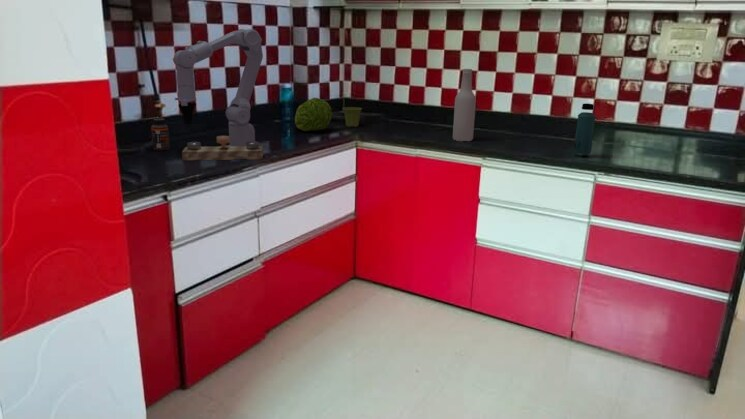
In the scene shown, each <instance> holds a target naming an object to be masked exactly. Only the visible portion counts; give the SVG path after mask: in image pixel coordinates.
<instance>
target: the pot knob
mask: <svg viewBox="0 0 745 419" xmlns="http://www.w3.org/2000/svg"><path fill="white" fill-rule="evenodd" d="M216 143H217V144H220V146H221V148H226V146H227V144H230V137H229V135H217V136H216Z"/></svg>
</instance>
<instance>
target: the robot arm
mask: <svg viewBox="0 0 745 419" xmlns="http://www.w3.org/2000/svg"><path fill="white" fill-rule="evenodd" d="M262 41H263V39H262V37H261V35H260V33H259V32H258V31H257V30H256V29H250V28H249V29H245V28H241V29H240V28H239V29H238V30H233V31H231V32H229V33H226V34H224V35H222V36H220V37H219V38H216V39H214V40H212V41H210V42H208V41H204V40H198V41H196V44H193V45H191V46H186V47H184V50H183V49H182V50H178V51H176V52H175V54H174V55H173V58H172V61H173V63H174V65H175V68H176V70H175V71H176V72H175V73H176V82H177V95H178V96H177V97H175V98H174V100H175V101H178V102H180V103H178V108H179V109H180V111H181V113H182V116H183V121H184V123H185V125H192V124H193V121H194V114H195V113H194V112H195V109H196V106H197V103H195V101H197V97H196V91H195V90H196V89H195V78H194V77H195V75H194V65H195V64H197V63H200V62H202V61H204V60H207V59H208V58H211V57H212V56H213V54H214V52H216V51H217V50H220V49H223V48H225V47H228V46H230V45H237V46H239V48H241V49H242V50H243V52H244V53H245V55H246V60H245V65H244V66H243V67H244V68H243V71H242V74H241V78H240V81H239V85H238V87H237V91H236V95H235V97H234V98H233V99H232V100H231V101H230V104H229V106H227V108H226V110H225V116H226V119H227V120H228V136H229V137H230V143H229V144H228V145H227V144H226V146H246V142H250V141H256V135H255V134H256V130H255V127H254V125H253V124H251V123H249V122H250V121H251V120H250V119H251V108H252V107H251V104H250V100H251V97H252V93H253V90H254V87H255V84H256V80H257V77H258V74H259V71H260V68H261V64H262V61H263V58H264V55H263V49H262V48H263V47H262Z"/></svg>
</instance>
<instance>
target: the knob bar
mask: <svg viewBox="0 0 745 419" xmlns="http://www.w3.org/2000/svg"><path fill="white" fill-rule="evenodd" d="M181 154H182V155H181V156H182V161H222V160H223V161H230V160H231V161H232V160H233V159H247V160H263V159H264V147H263V145H259V148H258V149H247V148H246V146H227V145H226V148H221V145H220V146H219V145H218V146H201V149H198V150H189V149H188V146H185V147H184V148H183V150H182V151H181ZM233 161H234V160H233Z"/></svg>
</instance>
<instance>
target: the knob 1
mask: <svg viewBox="0 0 745 419" xmlns="http://www.w3.org/2000/svg"><path fill="white" fill-rule="evenodd" d="M201 143H202V142H200V141H189V142H187V147H188V149H189V150H198V149H201V147H202V144H201Z"/></svg>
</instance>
